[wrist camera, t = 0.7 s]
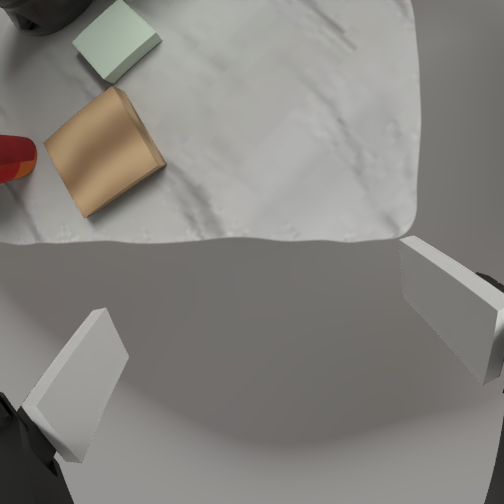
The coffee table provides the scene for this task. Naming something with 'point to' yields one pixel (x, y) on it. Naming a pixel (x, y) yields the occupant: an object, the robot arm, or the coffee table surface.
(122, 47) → the sage pad
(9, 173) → the paper cup
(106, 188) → the oak block
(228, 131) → the coffee table surface
